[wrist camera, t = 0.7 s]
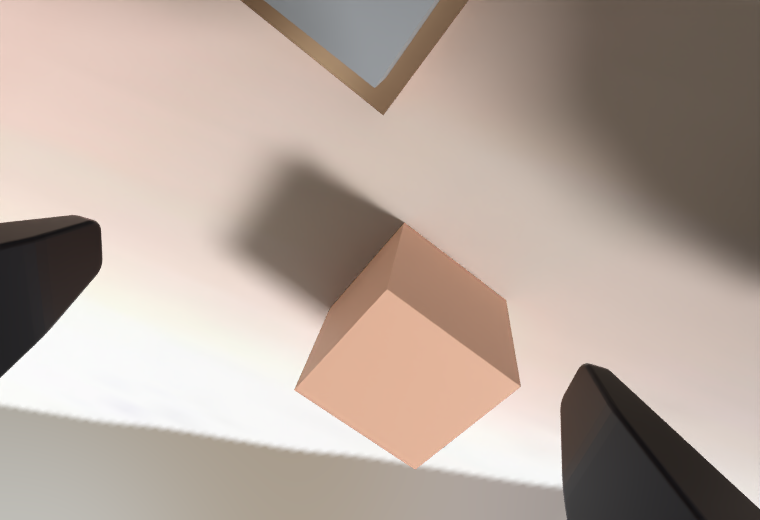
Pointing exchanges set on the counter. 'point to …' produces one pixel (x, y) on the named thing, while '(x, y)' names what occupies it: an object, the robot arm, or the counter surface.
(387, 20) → the grey slab
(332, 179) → the counter surface
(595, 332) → the counter surface
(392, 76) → the walnut slab
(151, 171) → the counter surface
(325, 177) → the counter surface
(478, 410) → the terracotta block
